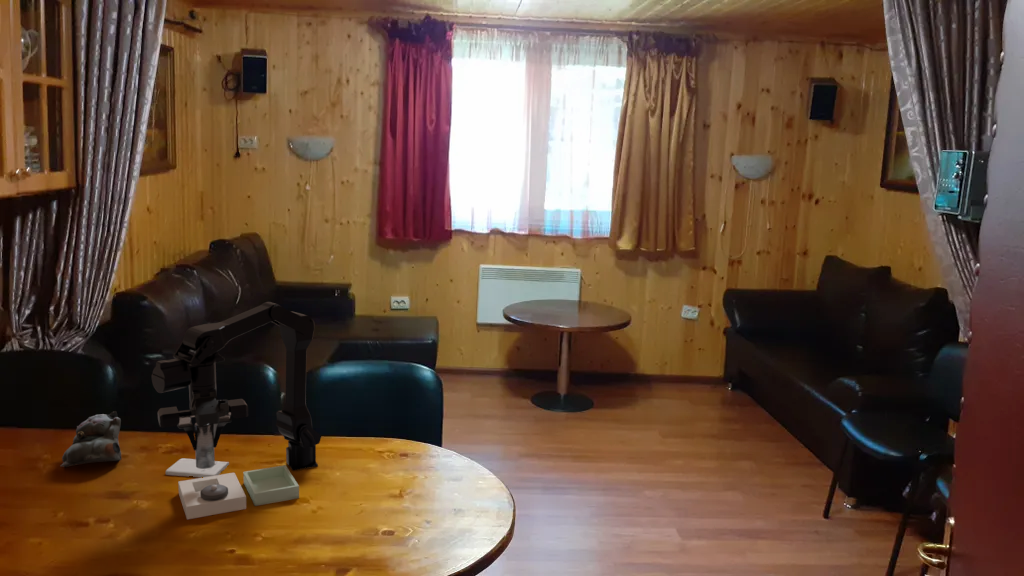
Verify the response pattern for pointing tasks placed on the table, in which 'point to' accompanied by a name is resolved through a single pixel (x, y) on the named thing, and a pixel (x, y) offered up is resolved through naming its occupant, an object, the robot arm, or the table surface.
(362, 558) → the table surface
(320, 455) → the table surface
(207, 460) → the pin
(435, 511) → the table surface
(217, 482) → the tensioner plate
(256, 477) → the tray
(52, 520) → the table surface
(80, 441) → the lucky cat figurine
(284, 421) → the robot arm
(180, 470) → the external hard drive
